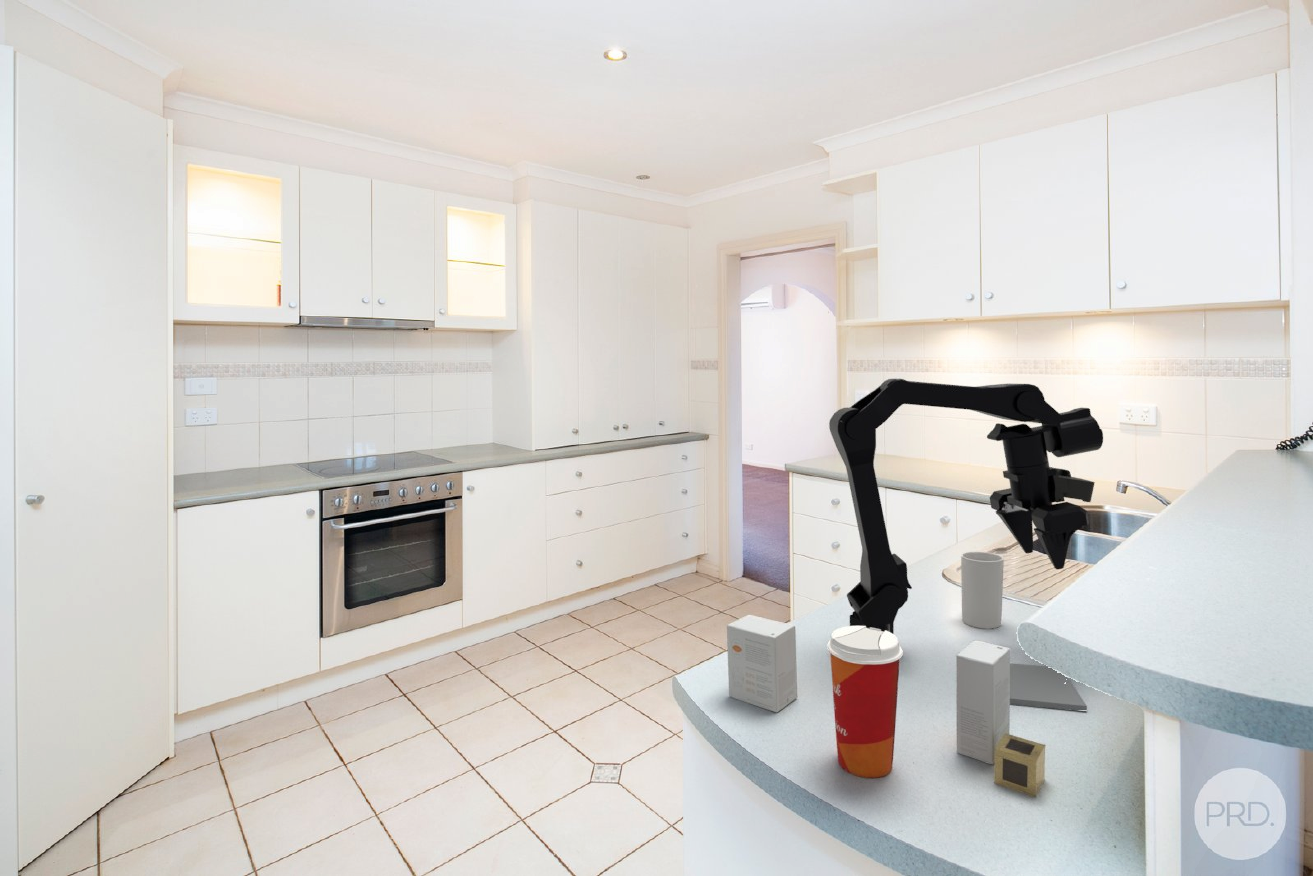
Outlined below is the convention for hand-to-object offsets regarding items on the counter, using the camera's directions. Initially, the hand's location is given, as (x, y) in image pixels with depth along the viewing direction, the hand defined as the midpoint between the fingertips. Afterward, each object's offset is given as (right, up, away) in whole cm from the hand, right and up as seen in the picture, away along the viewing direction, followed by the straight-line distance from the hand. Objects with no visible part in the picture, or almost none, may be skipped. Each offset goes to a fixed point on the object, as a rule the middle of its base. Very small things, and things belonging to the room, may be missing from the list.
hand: (1043, 560), depth 105 cm
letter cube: (-21, -18, -32) cm, 42 cm away
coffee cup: (-37, -19, -28) cm, 50 cm away
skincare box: (-22, -18, -26) cm, 38 cm away
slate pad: (-9, -16, -10) cm, 21 cm away
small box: (-46, -17, -11) cm, 50 cm away
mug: (-2, -14, +16) cm, 21 cm away
